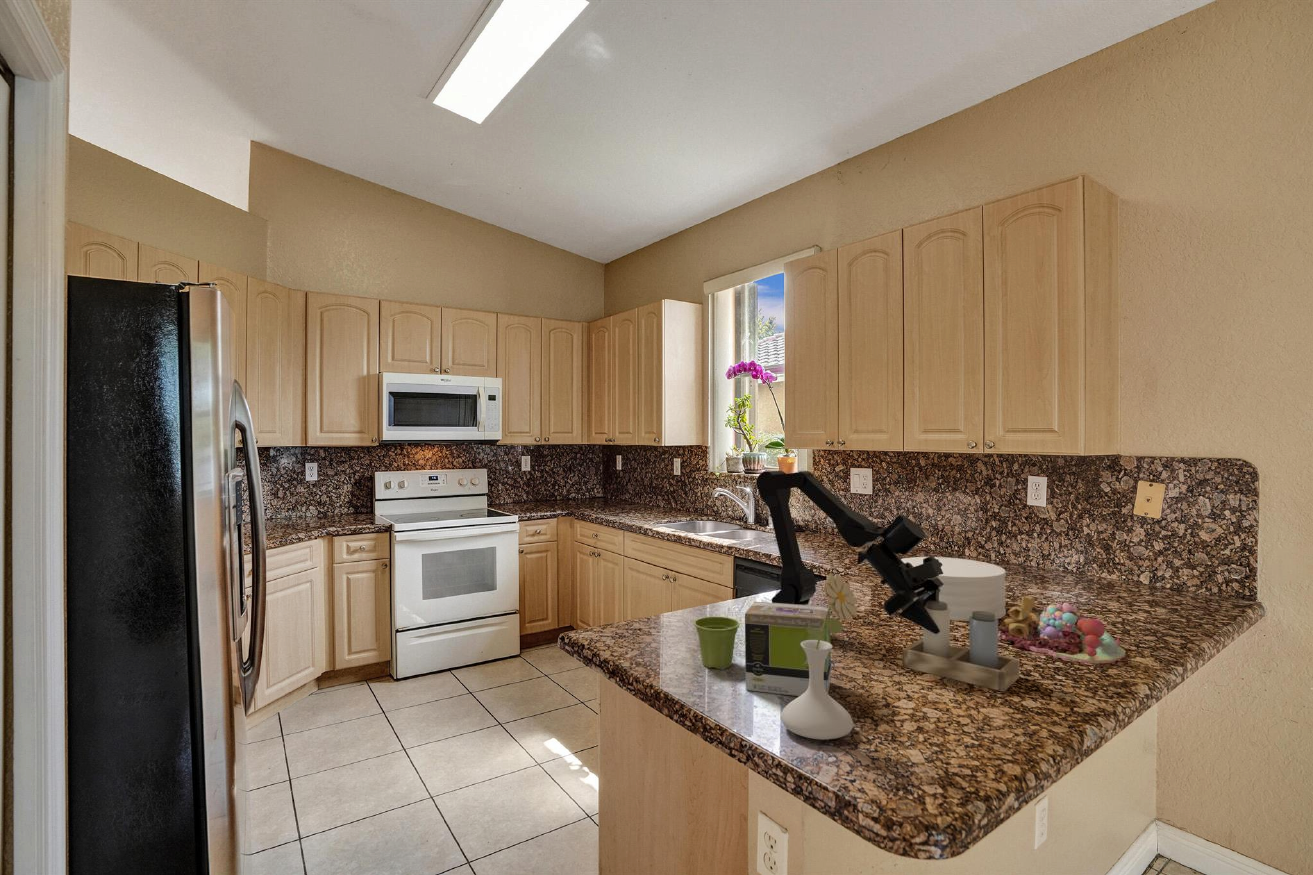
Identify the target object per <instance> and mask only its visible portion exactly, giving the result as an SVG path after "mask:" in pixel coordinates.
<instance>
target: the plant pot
mask: <svg viewBox="0 0 1313 875" xmlns="http://www.w3.org/2000/svg"><path fill="white" fill-rule="evenodd" d="M693 624H694V627H695V628H696V632H697V634H698V641H699V648H700V657H701V661H702V665H703V666H705V667H706V668H709V669H711V668H715V669H718V670H721V669H727V668H729V667H731V665H732V664H733V658H734V650H735V640H736V634H737V632H738V628H739V627H740V621H738V620H737V619H736V618H731V617H725V616H706V617H699V618H697V619H695V621H694V622H693Z"/></svg>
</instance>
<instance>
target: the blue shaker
mask: <svg viewBox="0 0 1313 875" xmlns="http://www.w3.org/2000/svg"><path fill="white" fill-rule="evenodd" d="M968 622H969V625H968V627H969V628H968V629H969V631H968V634H969V636H968V637H969V639H968V641H969V643H968V646H969V648H968V649H969V663H971V664H975V665H980V666H984V667H988V668H993V669H997V670H998V655H999V637H998V631H999V620H998V619H995V614H993V613H990V612H984V611H974V612H972V616H970V617H969V621H968Z"/></svg>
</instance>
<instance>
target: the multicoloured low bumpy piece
mask: <svg viewBox="0 0 1313 875" xmlns="http://www.w3.org/2000/svg"><path fill="white" fill-rule="evenodd" d="M1035 601H1036V600H1035V598H1034V597H1032V596H1030V595H1024V596H1022V597H1021V601H1020V606H1019V605H1015V606H1013V607H1011V608H1010V609H1009V610H1008V611H1007V613H1008V614H1009V616H1010V617H1011V618H1006V619H1004V620H1002V622H1001V624H1000V625H999V628H998V639H999V638H1000V639H1002V640H1003V641H1002V643H1007V642H1013V643H1014V644H1013V647H1015V648H1020V649H1024V650H1030V651H1032V652H1035V653H1043V654H1048V655H1050V656H1053V657H1055V658H1060V659H1063V660H1065V661H1073V662H1079V663H1082V664H1083V663H1085V664H1108V663H1113V662H1116V661H1120V660H1122V659H1123V658H1125V657H1126V652H1127V651H1126V650H1125V649H1123V647H1121V646H1120V642H1121V641H1120V637H1119V636H1118V637H1117V638H1114V637H1113V636H1112V635H1110V633H1109V632H1107V630H1106V629H1105V626H1104V624H1103V623H1102V622H1101V621H1100V620H1098V619H1095V618H1088V619H1087V618H1086V617H1085V616H1084V615H1083V613H1081V612H1079V611H1078V610H1079V609H1078V607H1076V606H1074V605H1072V604H1070V603H1069V602H1064V603H1063V604H1061V603H1058V604H1053V603H1051V604H1050V605H1047V604H1045V605H1044V607H1043V611H1042V612H1041V613H1040V614H1039V611H1036V612H1035V611H1033V608H1034V607H1035Z"/></svg>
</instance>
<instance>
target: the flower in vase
mask: <svg viewBox="0 0 1313 875" xmlns="http://www.w3.org/2000/svg"><path fill="white" fill-rule="evenodd" d="M823 591H824V598H825V599H826V600H827V602H826V605H827V607H829V609H828V611H827V614H826V617H825V620H824V624H823V627H822V629H821V631H820V630H816V629H814V628H812V627H811V626H809V625H808V628H807V632H808V633H811V634H814V635H819V638H818V640H806V641H803V642H801V646H802V648H803V649H804V651H805V653H806V655H807V659H808V664H809V686H808V689H807V691H806V692H805V693H803V694H802V695H801V696H797V697H796V698H795V699H793V700H792V701H791V702H788V704H786V706H784V708H783V709H782V710H781V714H780V717H779V718H780V721H781V723H782V724H783V726H784V727H785V728H786V729H787V730H788V731H790V732H791V733H794V734H796V735H799V736H801V737H804V738H807V739H813V740H832V739H833V740H835V739H839V738H842V737H846V736H847V735H848V734H849V733H850V732H851V731H852V729H853V728H854V721H853V719H852V716H851V714H850V713H849V712H848V711H847V709H845V708H844V707H843V706H842V705H841V704H840V703H839V702H838V701H837V700H835V699H834V698H833V697H832V696H830V695H829V693H828V694H827V692H826V690H825V688H824V665H825V660H826V657H827V654H828V653H829V651H830V650H832V649H833V644H831V642H830V643H828V642H825V641H820V639H821V636H822V634H823V630H824V627H825V624H826V627H827V628H828V630H829V631H830V633H831V634H833V635H836V634H839V633H841V631H843V628H844V626H843V624H842V622H841V621H839V620H838V619H840V620H842V621H846V622H847V623H848V622H853V620H854V619H853V616H854V617H856V616H857V615H858V607H857V606H856V604H858V599H857V598H856V597H855V594H854V592H853V591H852V590H851V585H850V584H849V583H845V581H844V579H843V577H842V576H840V575H839V574H838V573H835V575H833V573H832V572H830V573H829V575H827V576H826V580H824V582H823ZM831 611H832V613H834V616H835V617H836V618H837V619H836V618H834V617H830V618H829V619H828V621H827V617H828V614H829V612H831ZM826 621H827V622H826Z"/></svg>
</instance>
